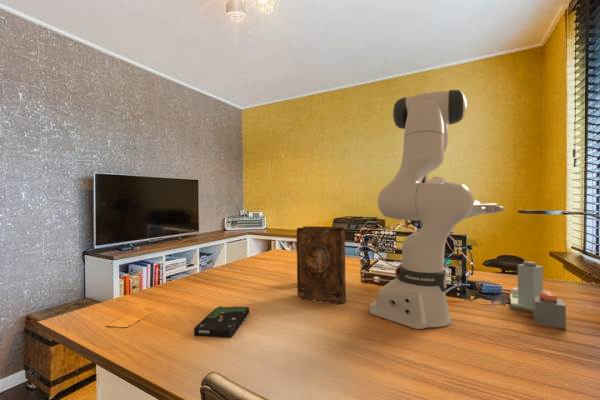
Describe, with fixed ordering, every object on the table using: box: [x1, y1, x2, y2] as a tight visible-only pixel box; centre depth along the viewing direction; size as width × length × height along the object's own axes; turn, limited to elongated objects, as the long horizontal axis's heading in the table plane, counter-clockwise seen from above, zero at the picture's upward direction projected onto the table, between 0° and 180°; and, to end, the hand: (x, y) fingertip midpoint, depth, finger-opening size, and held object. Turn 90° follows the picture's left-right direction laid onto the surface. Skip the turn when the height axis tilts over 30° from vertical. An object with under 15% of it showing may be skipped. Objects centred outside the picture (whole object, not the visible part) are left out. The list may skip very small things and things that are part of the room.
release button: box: [540, 292, 558, 302], centre depth 76 cm, size 4×4×6 cm
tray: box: [509, 293, 533, 313], centre depth 86 cm, size 10×10×2 cm
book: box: [296, 225, 347, 305], centre depth 96 cm, size 16×6×25 cm, turn 68°
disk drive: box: [193, 305, 250, 339], centre depth 78 cm, size 10×3×15 cm
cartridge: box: [517, 260, 544, 306], centre depth 86 cm, size 4×4×13 cm
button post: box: [532, 295, 567, 330], centre depth 76 cm, size 6×6×6 cm
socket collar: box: [510, 286, 553, 295], centre depth 95 cm, size 8×8×2 cm
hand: (493, 209), depth 98 cm, fingers open, 8 cm apart
